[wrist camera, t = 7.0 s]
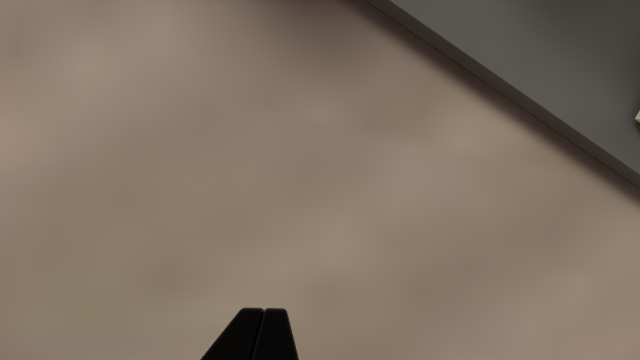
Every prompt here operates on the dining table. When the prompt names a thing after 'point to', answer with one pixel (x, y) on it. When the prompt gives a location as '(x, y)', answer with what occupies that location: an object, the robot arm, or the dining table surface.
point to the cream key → (638, 117)
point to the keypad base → (548, 62)
